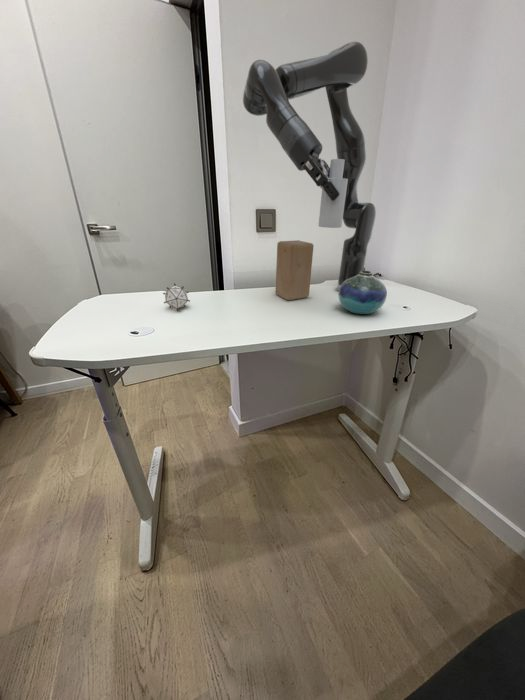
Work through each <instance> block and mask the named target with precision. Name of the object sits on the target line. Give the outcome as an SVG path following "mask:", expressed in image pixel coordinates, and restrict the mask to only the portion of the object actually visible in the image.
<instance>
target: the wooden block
mask: <svg viewBox="0 0 525 700" xmlns="http://www.w3.org/2000/svg"><path fill="white" fill-rule="evenodd" d="M314 247H315V246H314V244H313V243H312V242H308V241H302V240H279V241H278V242H277V245H276V266H275V267H276V268H275V269H276V270H275V290H274V291H275V294H276V295H277V296H279V297H281V298H283V299H285V300H286V301H295V300H300V299H307V298H309V296H310V286H311V277H312V268H313V267H312V266H313V256H314Z"/></svg>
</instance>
